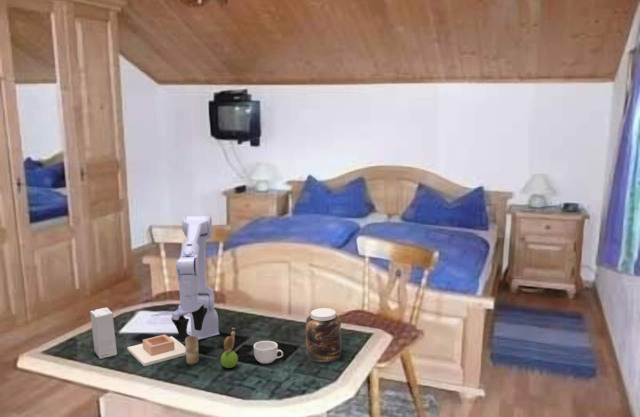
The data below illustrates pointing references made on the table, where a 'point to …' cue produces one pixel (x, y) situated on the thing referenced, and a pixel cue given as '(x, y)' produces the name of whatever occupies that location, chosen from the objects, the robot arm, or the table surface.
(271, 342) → the teacup
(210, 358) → the table surface
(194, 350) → the maple peg
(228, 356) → the snail figurine
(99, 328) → the skincare box
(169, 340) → the socket board
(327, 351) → the jar
